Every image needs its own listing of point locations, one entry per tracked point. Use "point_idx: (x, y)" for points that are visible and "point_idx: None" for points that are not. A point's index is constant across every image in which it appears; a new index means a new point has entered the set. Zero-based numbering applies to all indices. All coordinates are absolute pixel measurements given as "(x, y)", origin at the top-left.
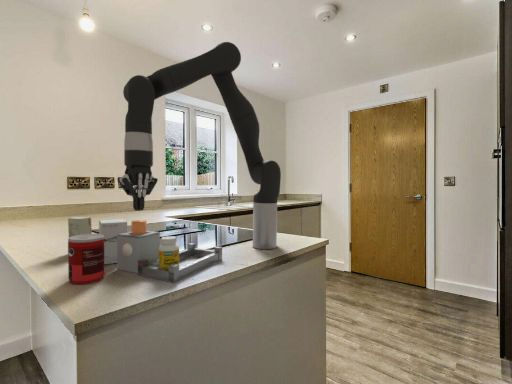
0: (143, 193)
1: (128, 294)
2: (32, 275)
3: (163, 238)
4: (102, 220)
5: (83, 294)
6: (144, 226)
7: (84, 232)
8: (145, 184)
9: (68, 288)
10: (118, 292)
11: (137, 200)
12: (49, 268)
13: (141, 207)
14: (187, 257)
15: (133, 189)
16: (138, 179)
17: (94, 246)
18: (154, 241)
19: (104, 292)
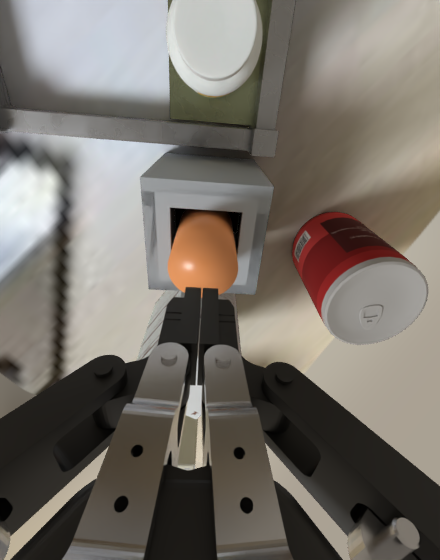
0: (177, 369)
1: (411, 47)
2: (325, 346)
3: (243, 46)
4: (199, 409)
5: (414, 172)
6: (202, 227)
7: (184, 423)
8: (150, 455)
9: (381, 234)
10: (398, 93)
11: (228, 338)
12: (285, 355)
13: (202, 295)
14: (42, 110)
15: (307, 412)
16: (289, 550)
17: (392, 250)
18: (179, 171)
19: (400, 133)
